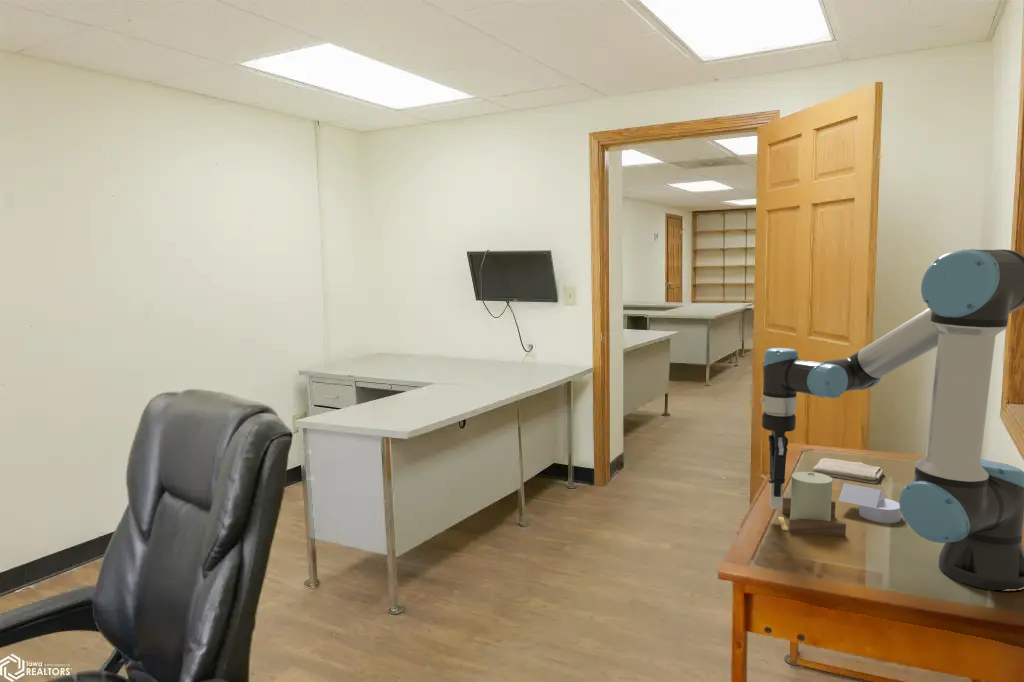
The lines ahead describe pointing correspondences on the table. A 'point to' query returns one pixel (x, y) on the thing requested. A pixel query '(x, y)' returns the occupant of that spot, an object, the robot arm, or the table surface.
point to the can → (811, 496)
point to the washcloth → (848, 470)
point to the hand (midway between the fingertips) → (775, 507)
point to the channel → (812, 522)
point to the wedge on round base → (871, 503)
